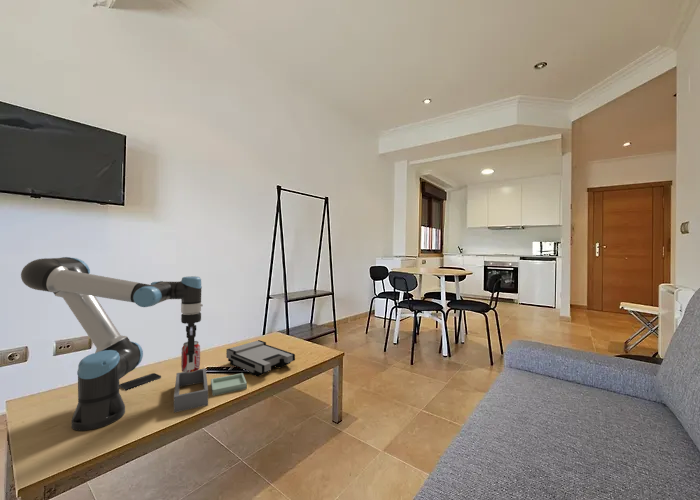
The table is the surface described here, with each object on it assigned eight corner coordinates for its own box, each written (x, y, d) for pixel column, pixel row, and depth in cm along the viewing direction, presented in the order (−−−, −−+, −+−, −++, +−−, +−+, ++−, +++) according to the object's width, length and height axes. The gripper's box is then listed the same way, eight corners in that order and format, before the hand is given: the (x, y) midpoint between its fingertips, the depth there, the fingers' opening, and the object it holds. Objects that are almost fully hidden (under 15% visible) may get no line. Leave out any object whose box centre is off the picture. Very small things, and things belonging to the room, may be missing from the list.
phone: (118, 384, 135) (153, 372, 148) (118, 387, 135) (153, 374, 148) (126, 388, 131) (162, 376, 144) (126, 391, 131) (162, 378, 144)
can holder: (208, 405, 119) (208, 390, 119) (173, 412, 114) (173, 397, 114) (205, 380, 141) (205, 368, 141) (176, 386, 135) (176, 373, 135)
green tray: (212, 395, 127) (212, 390, 127) (211, 384, 137) (211, 379, 137) (246, 388, 133) (246, 383, 133) (242, 378, 144) (242, 373, 144)
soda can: (191, 375, 123) (192, 346, 123) (177, 373, 124) (177, 344, 124) (203, 368, 130) (203, 341, 130) (189, 366, 131) (189, 339, 131)
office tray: (261, 380, 142) (261, 363, 142) (226, 364, 161) (226, 349, 161) (294, 367, 158) (294, 351, 158) (259, 353, 178) (259, 340, 178)
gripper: (201, 316, 120) (201, 373, 120) (200, 307, 137) (199, 356, 138) (180, 318, 116) (179, 376, 116) (181, 309, 134) (181, 359, 134)
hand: (190, 366), depth 127 cm, fingers closed on soda can, 7 cm apart
